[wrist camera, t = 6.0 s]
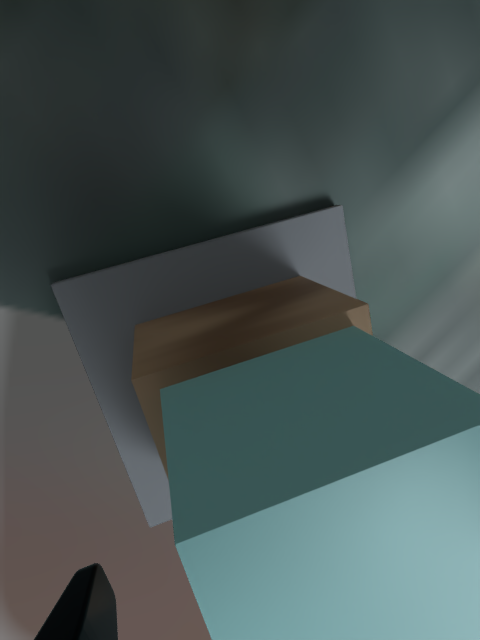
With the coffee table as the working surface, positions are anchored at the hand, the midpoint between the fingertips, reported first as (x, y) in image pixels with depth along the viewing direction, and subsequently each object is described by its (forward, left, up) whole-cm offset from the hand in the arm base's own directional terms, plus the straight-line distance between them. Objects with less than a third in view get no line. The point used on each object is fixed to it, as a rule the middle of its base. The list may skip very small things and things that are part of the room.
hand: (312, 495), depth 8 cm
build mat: (0, 0, -7) cm, 7 cm away
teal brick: (0, 0, -2) cm, 2 cm away
